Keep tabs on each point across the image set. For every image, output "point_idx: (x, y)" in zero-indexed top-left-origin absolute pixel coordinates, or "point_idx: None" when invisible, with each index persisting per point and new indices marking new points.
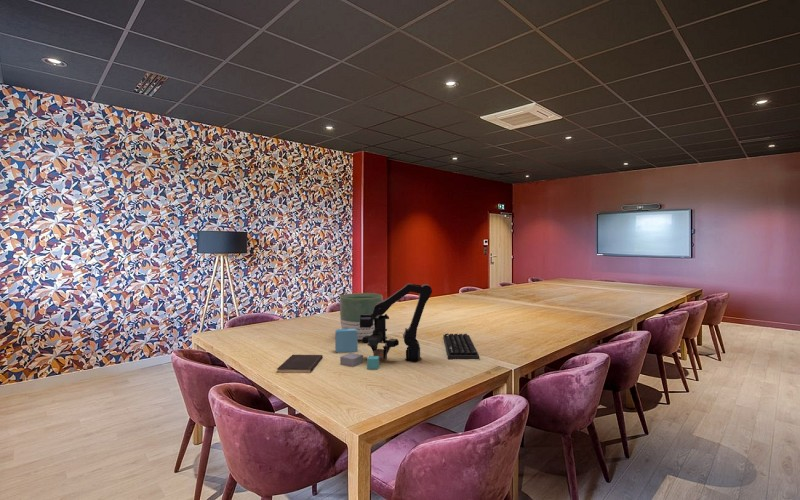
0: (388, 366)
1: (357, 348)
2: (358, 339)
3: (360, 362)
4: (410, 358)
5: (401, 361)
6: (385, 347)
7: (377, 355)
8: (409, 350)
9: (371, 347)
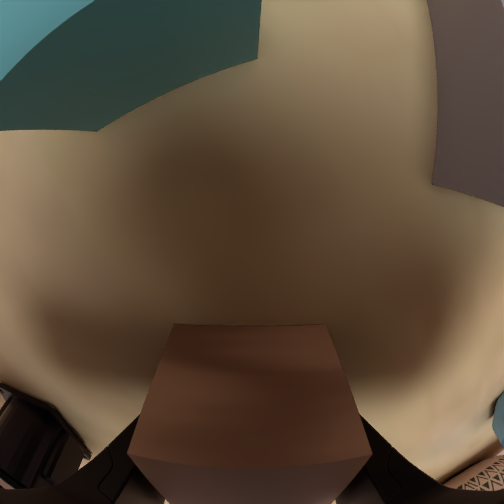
0: (14, 195)
1: (498, 418)
2: (469, 469)
3: (448, 117)
4: (21, 409)
5: (51, 384)
6: (5, 501)
7: (256, 395)
8: (3, 454)
9: (435, 490)
